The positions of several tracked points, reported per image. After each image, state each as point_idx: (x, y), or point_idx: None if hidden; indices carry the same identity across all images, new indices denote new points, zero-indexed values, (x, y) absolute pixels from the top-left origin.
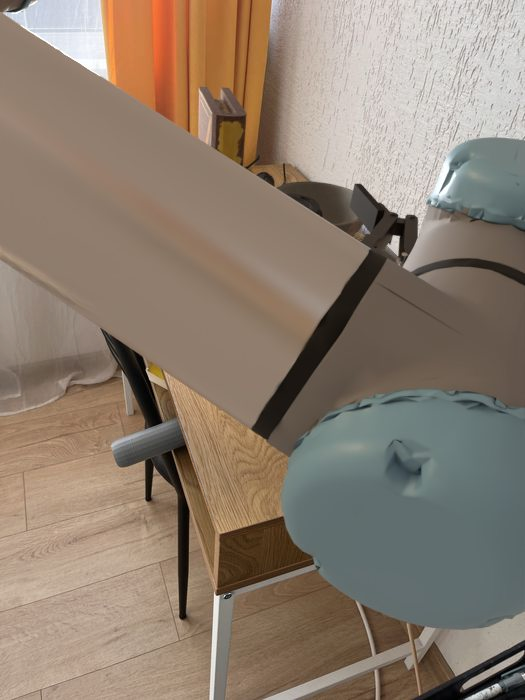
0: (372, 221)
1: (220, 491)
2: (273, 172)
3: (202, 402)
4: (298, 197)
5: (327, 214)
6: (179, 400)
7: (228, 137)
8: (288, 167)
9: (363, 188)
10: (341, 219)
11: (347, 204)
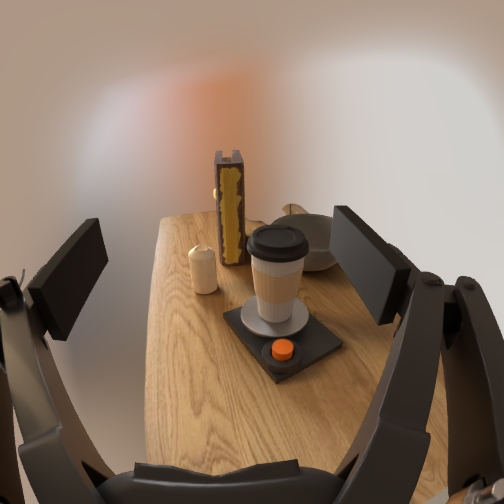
0: (380, 293)
1: None
2: (282, 208)
3: (167, 447)
4: (283, 228)
5: (320, 239)
6: (146, 441)
7: (228, 180)
8: (293, 205)
9: (352, 214)
10: None
11: None
